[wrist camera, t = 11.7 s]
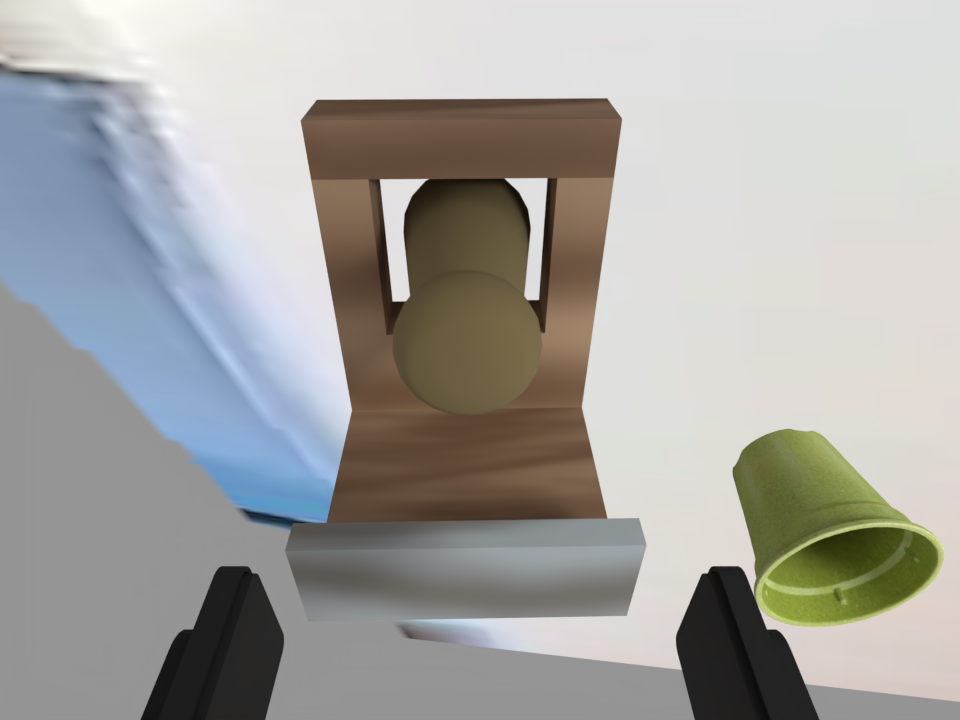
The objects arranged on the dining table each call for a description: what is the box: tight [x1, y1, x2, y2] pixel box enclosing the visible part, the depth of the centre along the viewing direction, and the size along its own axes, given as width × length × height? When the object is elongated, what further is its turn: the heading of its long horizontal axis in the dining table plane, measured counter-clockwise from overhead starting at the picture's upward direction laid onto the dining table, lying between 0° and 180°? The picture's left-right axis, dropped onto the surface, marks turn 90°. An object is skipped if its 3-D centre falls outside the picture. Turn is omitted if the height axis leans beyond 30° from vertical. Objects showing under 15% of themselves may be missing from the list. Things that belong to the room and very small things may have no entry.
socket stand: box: [285, 98, 647, 622], centre depth 24 cm, size 17×13×13 cm
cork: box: [392, 178, 543, 416], centre depth 24 cm, size 6×6×11 cm
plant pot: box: [732, 429, 945, 627], centre depth 35 cm, size 9×9×9 cm
